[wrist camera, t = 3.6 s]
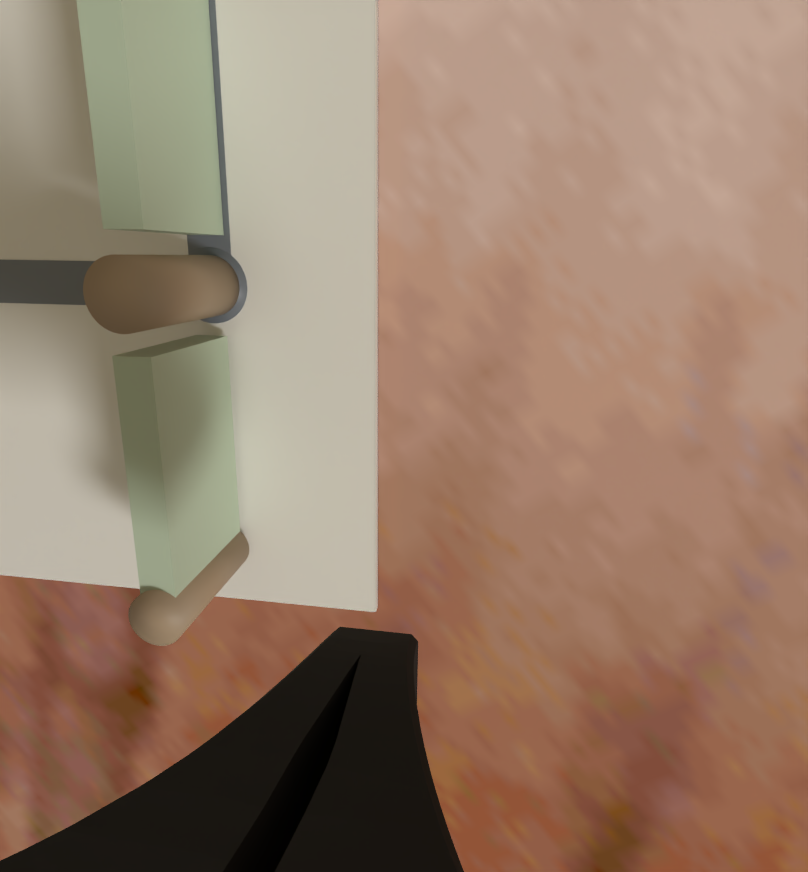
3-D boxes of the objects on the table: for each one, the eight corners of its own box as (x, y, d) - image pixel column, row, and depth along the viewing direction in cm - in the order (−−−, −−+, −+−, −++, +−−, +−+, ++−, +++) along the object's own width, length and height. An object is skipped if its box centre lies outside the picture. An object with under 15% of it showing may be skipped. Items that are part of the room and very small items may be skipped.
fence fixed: (186, 315, 17) (88, 332, 13) (152, -80, 15) (19, -206, 11) (241, 316, 17) (159, 335, 13) (217, -85, 14) (105, -216, 10)
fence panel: (207, 565, 19) (131, 642, 15) (187, 334, 17) (95, 356, 13) (250, 569, 19) (185, 648, 15) (236, 336, 17) (157, 359, 13)
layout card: (-27, 567, 21) (-35, 572, 21) (-153, -60, 16) (-166, -66, 16) (377, 606, 19) (375, 612, 19) (377, -98, 14) (374, -107, 14)
